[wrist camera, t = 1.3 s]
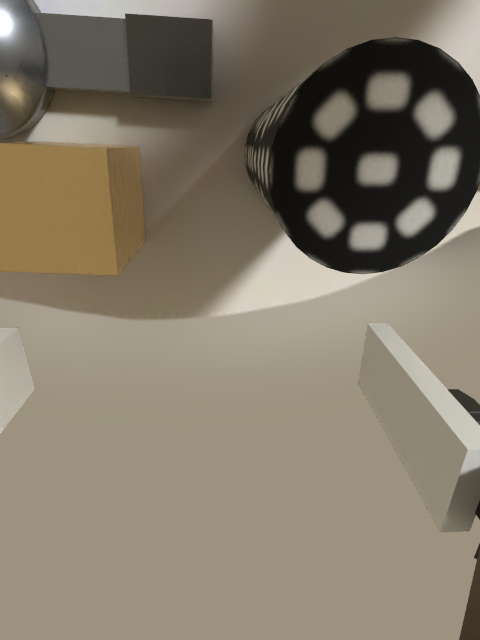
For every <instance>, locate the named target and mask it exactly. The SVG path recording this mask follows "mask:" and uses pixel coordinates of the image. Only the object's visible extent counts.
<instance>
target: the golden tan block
mask: <svg viewBox="0 0 480 640" xmlns="http://www.w3.org/2000/svg"><path fill="white" fill-rule="evenodd" d="M144 242H145V229H144V212H143V194H142V176H141V159H140V147H133V146H114V145H94V144H75V143H56V142H0V271H2V272H31V273H60V274H89V275H118V274H119V273H120V272H121V271H122V269H123V268H124V267H125V266H126V264H127V263H128V262H129V261H130V260H131V258H132V257H133V256H134V255H135V253H136V252H137V251H138V250H139V248H140V247H141V246H142V245H143V244H144Z"/></svg>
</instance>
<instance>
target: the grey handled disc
mask: <svg viewBox="0 0 480 640" xmlns="http://www.w3.org/2000/svg"><path fill="white" fill-rule="evenodd" d="M212 80H213V22H212V20H209V19H195V18H180V17H166V16H151V15H137V14H125V19H120V18H105V17H91V16H76V15H62V14H47V13H41V12H40V10H39V8H38V6H37V5H36V3H35V2H34V0H0V139H5V138H11V137H14V136H17V135H20V134H22V133H24V132H26V131H28V130H29V129H30V128H32V127H33V126H34V125H35V124H36V123H37V122H38V121H39V120H40V119H41V118H42V117H43V115H44V114H45V112H46V111H47V109H48V107H49V105H50V102H51V100H52V97H53V93H54V90H67V91H84V92H101V93H118V94H131V95H133V96H135V97H137V98H154V99H172V100H189V101H206V102H212Z"/></svg>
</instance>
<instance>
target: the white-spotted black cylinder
mask: <svg viewBox="0 0 480 640" xmlns="http://www.w3.org/2000/svg"><path fill="white" fill-rule="evenodd" d="M245 163H246V168H247V172H248V175H249V177H250V179H251V181H252V183H253V185H254V186H255V188H256V189H257V191H258V192H259V194H260V195H261V197H262V198H263V200H264V201H265V203H266V204H267V206H268V207H269V209H270V210H271V212H272V213H273V215H274V216H275V218H276V219H277V221H278V222H279V224H280V225H281V227H282V228H283V230H284V231H285V233H286V234H287V235H288V237H289V238H290V239H291V240H292V242H293V243H294V244H295V246H296V247H297V248H298V249H300V250H301V251H302V252H303V253H304V254H306V255H307V256H308V257H309V258H310V259H312V260H314V261H316V262H318V263H319V264H321V265H323V266H325V267H327V268H330V269H334V270H337V271H341V272H344V273H356V274H368V273H377V272H384V271H387V270H391V269H394V268H397V267H401V266H403V265H405V264H407V263H409V262H411V261H413V260H415V259H417V258H419V257H421V256H422V255H423V254H425V253H426V252H428V251H429V250H431V249H432V248H433V247H435V246H436V245H437V244H438V243H439V242H440V241H441V240H442V239H443V238H444V237H445V236H447V235H448V234H449V233H450V232H451V231H452V230H453V228H454V227H455V226H456V224H457V223H458V222H459V220H460V219H461V218H462V216H463V215H464V214H465V212H466V211H467V209H468V207H469V205H470V203H471V201H472V199H473V197H474V195H475V193H476V192H477V189H478V186H479V183H480V95H479V93H478V91H477V88H476V86H475V84H474V82H473V80H472V79H471V77H470V76H469V75H468V74H467V72H466V71H465V70H464V69H463V67H462V66H461V65H460V64H459V62H457V61H456V60H455V59H453V58H452V57H451V56H449V55H448V54H447V53H445V52H444V51H443V50H441V49H440V48H437V47H435V46H432V45H430V44H427V43H425V42H422V41H420V40H413V39H405V38H397V37H394V38H385V39H377V40H370V41H368V42H365V43H362V44H359V45H356V46H353V47H351V48H348V49H346V50H345V51H343V52H341V53H340V54H338V55H336V56H335V57H333V58H331V59H330V60H328V61H327V62H325V63H324V64H323V65H321V66H320V67H319V68H318V69H316V70H315V71H314V72H313V73H311V74H310V75H309V76H308V77H306V78H305V79H304V80H303V81H301V82H300V83H299V84H298V85H296V86H295V87H294V88H293V89H292V90H290V91H289V92H288V93H287V94H285V95H284V96H283V97H282V98H280V99H279V100H278V101H277V102H275V103H274V104H273V105H272V106H270V107H269V108H268V109H267V110H266V111H265V112H263V113H262V114H261V115H260V116H259V118H258V119H257V120H256V122H255V123H254V124H253V126H252V128H251V130H250V133H249V135H248V138H247V142H246V148H245Z"/></svg>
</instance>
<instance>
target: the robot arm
mask: <svg viewBox="0 0 480 640" xmlns="http://www.w3.org/2000/svg"><path fill="white" fill-rule="evenodd" d="M358 385H359V386H360V388H361V390H362V392H363V394H364V396H365V397H366V399H367V401H368V403H369V405H370V406H371V408H372V410H373V412H374V414H375V415H376V417H377V419H378V421H379V423H380V424H381V426H382V428H383V430H384V432H385V433H386V435H387V437H388V439H389V441H390V442H391V444H392V446H393V448H394V450H395V451H396V453H397V455H398V457H399V459H400V460H401V462H402V464H403V466H404V468H405V469H406V471H407V473H408V475H409V477H410V478H411V480H412V482H413V484H414V486H415V487H416V489H417V491H418V493H419V495H420V496H421V498H422V500H423V502H424V504H425V505H426V507H427V509H428V511H429V513H430V514H431V516H432V518H433V520H434V522H435V523H436V525H437V527H438V528H439V531H440V532H459V531H470V529H471V526H472V523H473V521H474V518H475V515H477V516H478V518H479V519H480V405H479V404H478V403H477V402H476V401H475V400H474V399H473V398H471V397H470V396H468V395H466V394H465V393H463V392H461V391H460V390H458V389H452V390H451V389H450V390H449V389H448V390H447V389H446V388H445V386H444V385H443V384H442V383H441V382H440V381H439V380H438V379H437V378H436V377H435V375H434V374H433V373H432V372H431V371H430V370H429V369H428V368H427V367H426V365H425V364H424V363H423V362H422V361H421V360H420V359H419V358H418V357H417V356H416V354H415V353H414V352H413V351H412V350H411V349H410V348H409V347H408V346H407V345H406V343H405V342H404V341H403V340H402V339H401V338H400V337H399V336H398V335H397V334H396V332H395V331H394V330H393V329H392V328H391V327H390V326H389V325H388V324H387V323H383V324H381V323H380V324H368V325H367V331H366V338H365V344H364V350H363V356H362V362H361V368H360V375H359V381H358ZM34 390H35V388H34V384H33V380H32V377H31V373H30V369H29V365H28V361H27V358H26V354H25V350H24V347H23V343H22V339H21V335H20V331H19V328H18V327H13V328H11V327H9V328H0V434H1V432H2V431H3V430H4V428H5V427H6V426H7V425H8V423H9V422H10V420H11V419H12V418H13V417H14V415H15V414H16V413H17V412H18V410H19V409H20V407H21V406H22V405H23V404H24V402H25V401H26V400H27V398H28V397H29V396H30V395H31V393H32V392H33V391H34ZM474 558H476V559H477V563H476V567H475V571H474V576H473V581H472V585H471V590H470V594H469V599H468V603H467V607H466V612H465V616H464V621H463V626H462V630H461V634H460V639H459V640H480V544H479V546H478V549H477V552H476V554H475V556H474Z"/></svg>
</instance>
